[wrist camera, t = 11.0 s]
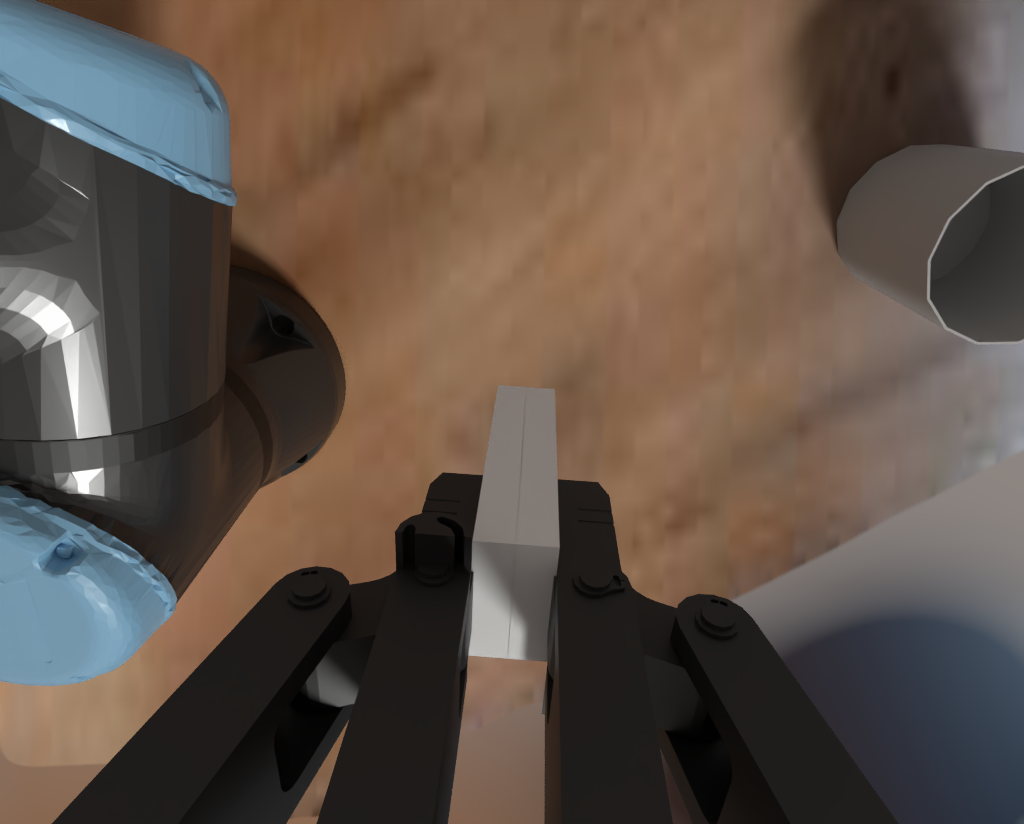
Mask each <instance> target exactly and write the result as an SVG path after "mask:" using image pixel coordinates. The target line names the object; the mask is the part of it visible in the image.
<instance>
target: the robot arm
mask: <svg viewBox="0 0 1024 824" xmlns="http://www.w3.org/2000/svg"><path fill="white" fill-rule="evenodd" d="M236 204H237V195H236V192H235V191H234V189H233V188H232V178H231V153H230V114H229V108H228V105H227V101H226V98H225V96H224V94H223V92H222V90H221V88H220V86H219V85H218V83H217V82H216V81H215V79H214V78H213V77H212V76H211V74H210V73H209V72H208V71H207V70H206V69H205V68H204V67H202V66H201V65H200V64H198V63H197V62H195V61H194V60H192V59H191V58H189V57H187V56H185V55H183V54H180V53H178V52H176V51H173V50H171V49H168V48H166V47H163V46H161V45H158V44H155V43H153V42H150V41H147V40H144V39H142V38H139V37H136V36H133V35H131V34H128V33H125V32H123V31H120V30H117V29H114V28H112V27H109V26H106V25H103V24H100V23H98V22H95V21H92V20H89V19H87V18H84V17H81V16H78V15H75V14H72V13H69V12H67V11H64V10H61V9H58V8H55V7H52V6H50V5H47V4H44V3H41V2H39V1H36V0H0V681H3V682H9V683H16V684H24V685H40V686H56V685H67V684H74V683H80V682H83V681H86V680H89V679H92V678H94V677H96V676H98V675H101V674H104V673H107V672H110V671H113V670H115V669H116V668H118V667H119V666H121V665H122V664H123V663H125V662H126V661H127V660H128V659H130V658H131V657H132V656H133V655H134V654H135V652H136V651H137V650H138V649H139V648H140V647H141V646H142V645H143V644H144V643H145V641H146V640H147V639H148V638H149V637H150V636H151V635H152V634H153V633H154V632H155V631H156V630H157V629H158V628H159V627H160V626H161V624H163V623H165V622H166V620H168V619H169V617H170V616H171V615H172V614H173V612H174V611H175V609H176V603H177V602H178V601H179V599H180V598H181V596H182V595H183V594H184V592H185V591H186V589H187V588H188V587H189V585H190V584H191V582H192V581H193V580H194V578H195V577H196V576H197V574H198V573H199V571H200V570H201V569H202V567H203V566H204V564H205V563H206V562H207V560H208V559H209V557H210V556H211V555H212V553H213V552H214V551H215V549H216V548H217V546H218V545H219V544H220V542H221V541H222V539H223V538H224V537H225V535H226V534H227V532H228V531H229V530H230V528H231V527H232V526H233V524H234V523H235V521H236V520H237V519H238V517H239V516H240V514H241V513H242V512H243V510H244V509H245V507H246V506H247V505H248V503H249V502H250V500H251V499H252V498H253V496H254V495H255V494H256V492H257V491H258V490H259V489H260V488H262V487H264V486H266V485H268V484H270V483H272V482H274V481H276V480H277V479H279V478H280V477H282V476H284V475H287V474H289V473H291V472H293V471H294V470H296V469H298V468H300V467H301V466H303V465H304V464H305V463H307V462H308V461H309V460H310V459H311V458H312V457H314V456H315V455H316V453H317V452H318V451H319V450H320V449H321V448H322V446H323V445H324V444H325V442H326V441H327V439H328V438H329V436H330V434H331V433H332V431H333V430H334V428H335V427H336V425H337V423H338V421H339V418H340V416H341V413H342V410H343V406H344V400H345V390H346V386H345V373H344V368H343V364H342V360H341V357H340V354H339V351H338V348H337V346H336V344H335V342H334V340H333V338H332V336H331V334H330V333H329V331H328V329H327V328H326V326H325V325H324V323H323V322H322V321H321V319H320V318H319V317H318V316H317V314H316V313H315V312H314V311H313V310H312V309H311V308H310V307H309V306H308V305H307V304H306V303H305V302H304V301H303V300H302V299H301V298H299V297H298V296H297V295H296V294H295V293H293V292H292V291H291V290H289V289H288V288H286V287H285V286H283V285H281V284H280V283H278V282H276V281H274V280H273V279H271V278H268V277H266V276H264V275H262V274H259V273H257V272H254V271H251V270H248V269H244V268H240V267H235V266H230V246H231V224H232V206H236ZM611 512H612V510H611V504H610V497H609V495H608V494H607V493H606V491H605V490H604V489H603V488H602V487H601V485H600V484H599V483H598V482H586V481H573V480H559V479H557V448H556V416H555V389H544V388H530V387H516V386H502V385H498V390H497V396H496V402H495V408H494V414H493V420H492V426H491V432H490V438H489V444H488V450H487V456H486V462H485V468H484V474H483V475H470V474H457V473H442V474H441V475H440V476H439V477H438V478H436V479H435V480H434V481H433V482H432V483H431V484H430V486H429V490H428V493H427V496H426V501H425V503H424V506H423V510H422V513H421V514H419V515H415V516H412V517H410V518H408V519H407V520H405V521H404V522H402V523H401V524H400V525H399V527H398V528H397V530H396V531H395V543H396V571H395V572H394V573H392V574H391V575H389V576H386V577H384V578H382V579H378V580H374V581H370V582H364V583H358V584H352V585H349V581H348V580H347V578H346V577H345V576H344V575H343V574H342V573H341V572H339V571H336V570H334V569H332V568H326V567H317V566H316V567H310V568H303V569H299V570H297V571H295V572H292V573H290V574H287V575H286V576H285V577H283V578H282V579H281V580H279V581H278V582H277V583H275V585H274V586H273V587H272V588H271V589H270V590H269V591H268V592H267V593H266V594H265V595H264V596H263V597H262V599H261V600H260V601H259V602H258V603H257V604H256V605H255V606H254V607H253V608H252V609H251V610H250V611H249V612H248V614H247V615H246V616H245V617H244V618H243V619H242V620H241V621H240V622H239V623H238V624H237V625H236V626H235V628H234V629H233V630H232V631H231V632H230V633H229V634H228V635H227V636H226V637H225V638H224V639H223V640H222V641H221V643H220V644H219V645H218V646H217V647H216V648H215V649H214V650H213V651H212V652H211V653H210V654H209V655H208V657H207V658H206V659H205V660H204V661H203V662H202V663H201V664H200V665H199V666H198V667H197V668H196V669H195V670H194V672H193V673H192V674H191V675H190V676H189V677H188V678H187V679H186V680H185V681H184V682H183V683H182V684H181V685H180V687H179V688H178V689H177V690H176V691H175V692H174V693H173V694H172V695H171V696H170V697H169V698H168V699H167V701H166V702H165V703H164V704H163V705H162V706H161V707H160V708H159V709H158V710H157V711H156V712H155V713H154V714H153V716H152V717H151V718H150V719H149V720H148V721H147V722H146V723H145V724H144V725H143V726H142V727H141V728H140V730H139V731H138V732H137V733H136V734H135V735H134V736H133V737H132V738H131V739H130V740H129V741H128V742H127V743H126V745H125V746H124V747H123V748H122V749H121V750H120V751H119V752H118V753H117V754H116V755H115V756H114V757H113V758H112V760H111V761H110V762H109V763H108V764H107V765H106V766H105V767H104V768H103V769H102V770H101V771H100V772H99V774H98V775H97V776H96V777H95V778H94V779H93V780H92V781H91V782H90V783H89V784H88V786H86V787H85V789H84V790H83V791H82V792H81V793H80V794H79V795H78V796H77V797H76V798H75V799H74V801H72V803H71V804H70V805H69V806H68V807H67V808H66V809H65V810H64V811H63V812H62V813H61V814H60V815H59V817H58V818H57V819H56V820H55V821H54V822H53V823H52V824H286V823H287V821H288V820H289V818H290V816H291V815H292V813H293V811H294V810H295V808H296V806H297V805H298V803H299V801H300V800H301V798H302V796H303V795H304V793H305V791H306V790H307V788H308V787H309V785H310V783H311V782H312V780H313V778H314V777H315V775H316V773H317V772H318V770H319V768H320V767H321V765H322V763H323V762H324V760H325V758H326V757H327V755H328V753H329V752H330V750H331V748H332V747H333V745H334V743H335V742H336V740H337V738H338V737H339V735H340V733H341V732H342V730H343V728H344V727H345V725H346V723H347V722H348V720H349V722H348V725H347V728H346V732H345V735H344V738H343V741H342V744H341V748H340V751H339V754H338V757H337V760H336V764H335V767H334V770H333V773H332V776H331V780H330V783H329V786H328V789H327V792H326V795H325V799H324V802H323V805H322V808H321V811H320V815H319V818H318V821H317V824H448V818H449V811H450V803H451V796H452V788H453V781H454V773H455V765H456V758H457V750H458V743H459V735H460V728H461V720H462V713H463V705H464V698H465V690H466V682H467V661H468V655H470V656H483V657H495V658H508V659H521V660H533V661H546V662H547V673H546V682H545V691H544V700H543V709H542V714H545V824H673V822H672V816H671V810H670V804H669V799H668V793H667V787H666V781H665V776H664V770H663V764H662V758H661V753H660V749H661V751H662V753H663V756H664V758H665V760H666V763H667V765H668V767H669V769H670V772H671V774H672V776H673V779H674V781H675V783H676V786H677V788H678V790H679V793H680V795H681V797H682V800H683V801H684V804H685V807H686V809H687V811H688V814H689V816H690V818H691V821H692V823H693V824H898V822H897V821H896V820H895V818H894V817H893V815H892V814H891V813H890V811H889V810H888V808H887V807H886V806H885V804H884V803H883V801H882V800H881V799H880V797H879V796H878V794H877V793H876V791H875V790H874V789H873V787H872V786H871V784H870V783H869V782H868V780H867V779H866V777H865V776H864V775H863V773H862V772H861V770H860V769H859V768H858V766H857V765H856V764H855V762H854V760H853V759H852V758H851V756H850V755H849V753H848V752H847V751H846V749H845V748H844V746H843V745H842V744H841V742H840V741H839V739H838V738H837V737H836V735H835V734H834V732H833V731H832V729H831V728H830V727H829V726H828V724H827V723H826V721H825V720H824V718H823V717H822V715H821V714H820V713H819V711H818V710H817V709H816V707H815V706H814V704H813V703H812V701H811V700H810V699H809V697H808V696H807V694H806V693H805V691H804V690H803V689H802V687H801V686H800V684H799V683H798V682H797V680H796V679H795V678H794V676H793V675H792V673H791V672H790V670H789V669H788V668H787V666H786V665H785V663H784V662H783V661H782V659H781V658H780V656H779V655H778V653H777V652H776V651H775V650H774V648H773V646H772V645H771V644H770V642H769V641H768V640H767V638H766V637H765V635H764V634H763V632H762V631H761V630H760V628H759V627H758V625H757V624H756V623H755V621H754V620H753V618H752V617H751V616H750V615H749V614H748V613H747V612H746V611H745V610H744V609H743V608H742V607H740V606H738V605H737V604H735V603H733V602H732V601H730V600H728V599H725V598H722V597H718V596H715V595H706V594H697V595H694V596H690V597H686V598H685V599H684V600H683V601H682V602H681V603H680V604H678V608H674V607H671V606H668V605H665V604H662V603H659V602H656V601H654V600H651V599H649V598H646V597H645V596H643V595H641V594H640V593H638V592H637V591H635V590H634V589H633V588H632V586H631V584H630V582H629V580H628V577H627V576H626V575H625V574H624V573H623V572H622V571H621V566H620V559H619V553H618V547H617V541H616V535H615V528H614V526H613V524H614V522H613V516H612V513H611ZM349 718H350V719H349ZM659 746H660V747H659Z"/></svg>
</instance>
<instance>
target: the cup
mask: <svg viewBox="0 0 1024 824" xmlns="http://www.w3.org/2000/svg"><path fill="white" fill-rule="evenodd" d="M837 245H838V254H839V256H840V257H841V259H842V260H843V262H844V263H845V265H846V267H847V268H848V270H849V271H850V273H851V274H852V276H853V277H855V278H856V279H858V280H860V281H862V282H863V283H865V284H867V285H869V286H870V287H872V288H874V289H876V290H877V291H879V292H881V293H882V294H884V295H886V296H888V297H889V298H891V299H893V300H895V301H896V302H898V303H900V304H902V305H903V306H905V307H907V308H909V309H910V310H912V311H914V312H916V313H917V314H919V315H921V316H923V317H924V318H926V319H928V320H930V321H931V322H933V323H935V324H937V325H938V326H940V327H942V328H944V329H945V330H947V331H950V332H952V333H954V334H956V335H958V336H960V337H962V338H964V339H966V340H968V341H970V342H972V343H974V344H976V345H985V344H1019V343H1021V342H1024V153H1021V152H1012V151H1003V150H994V149H985V148H975V147H966V146H957V145H948V144H935V145H910V146H908V147H906V148H904V149H902V150H900V151H898V152H896V153H894V154H892V155H890V156H887V157H885V158H883V159H881V160H879V161H877V162H876V163H875V164H874V165H873V166H872V167H871V168H870V169H869V170H868V171H867V172H866V173H865V174H864V175H863V176H862V177H861V179H860V180H859V181H858V182H857V183H856V184H855V185H854V186H853V187H852V188H851V189H850V191H849V193H848V196H847V198H846V200H845V203H844V205H843V208H842V210H841V213H840V215H839V217H838V220H837Z"/></svg>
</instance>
